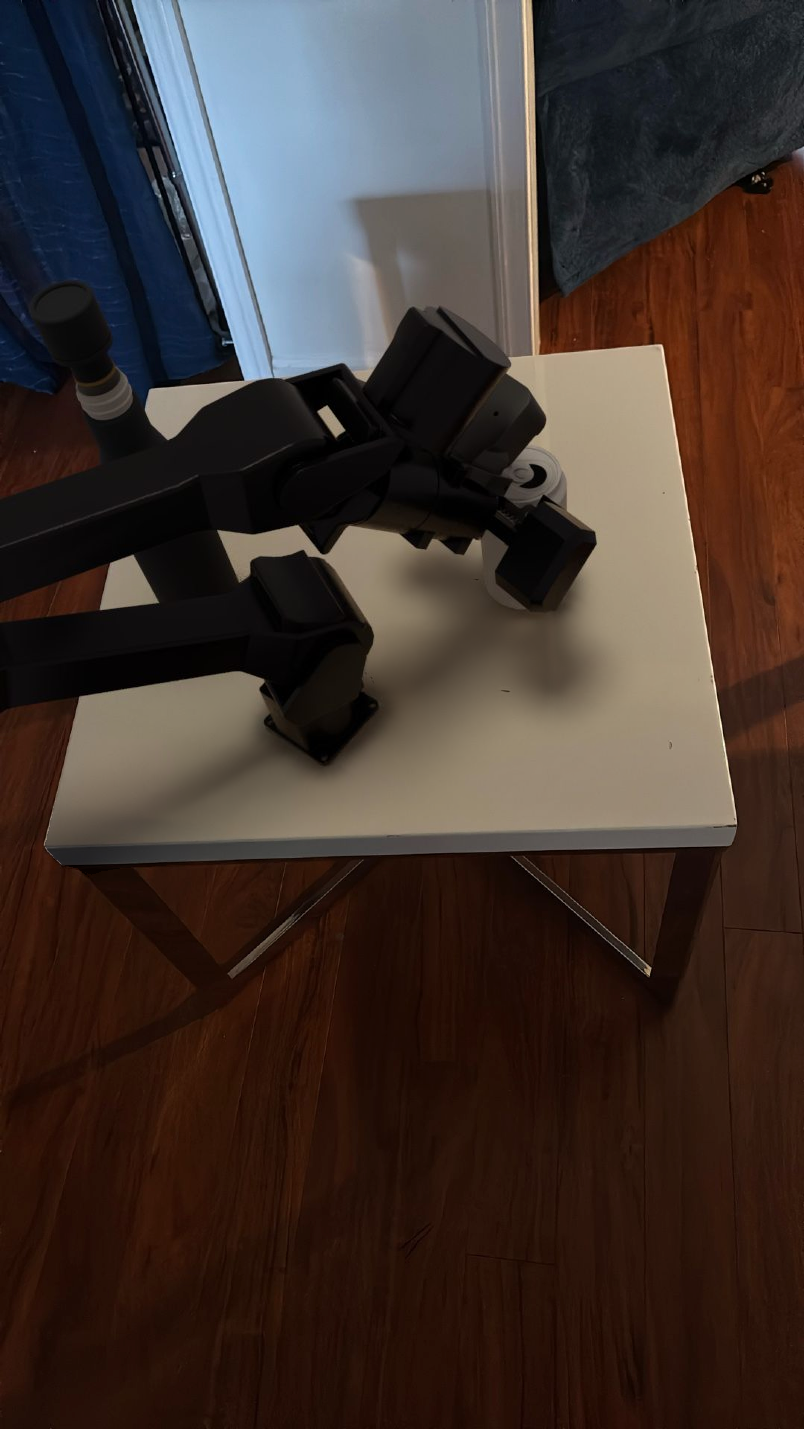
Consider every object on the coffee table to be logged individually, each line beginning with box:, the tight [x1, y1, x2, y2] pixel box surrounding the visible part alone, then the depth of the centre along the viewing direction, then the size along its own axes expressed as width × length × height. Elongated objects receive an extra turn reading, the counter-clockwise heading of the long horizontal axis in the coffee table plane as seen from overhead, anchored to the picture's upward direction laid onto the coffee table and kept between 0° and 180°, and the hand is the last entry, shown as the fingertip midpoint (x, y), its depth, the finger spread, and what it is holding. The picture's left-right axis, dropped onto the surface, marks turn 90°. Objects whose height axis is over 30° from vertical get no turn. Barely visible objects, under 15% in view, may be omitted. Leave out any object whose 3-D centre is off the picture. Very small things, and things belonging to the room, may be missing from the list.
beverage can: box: [480, 444, 568, 610], centre depth 77 cm, size 6×6×12 cm
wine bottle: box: [28, 279, 240, 603], centre depth 72 cm, size 6×6×30 cm
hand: (536, 515), depth 77 cm, fingers closed on beverage can, 6 cm apart
